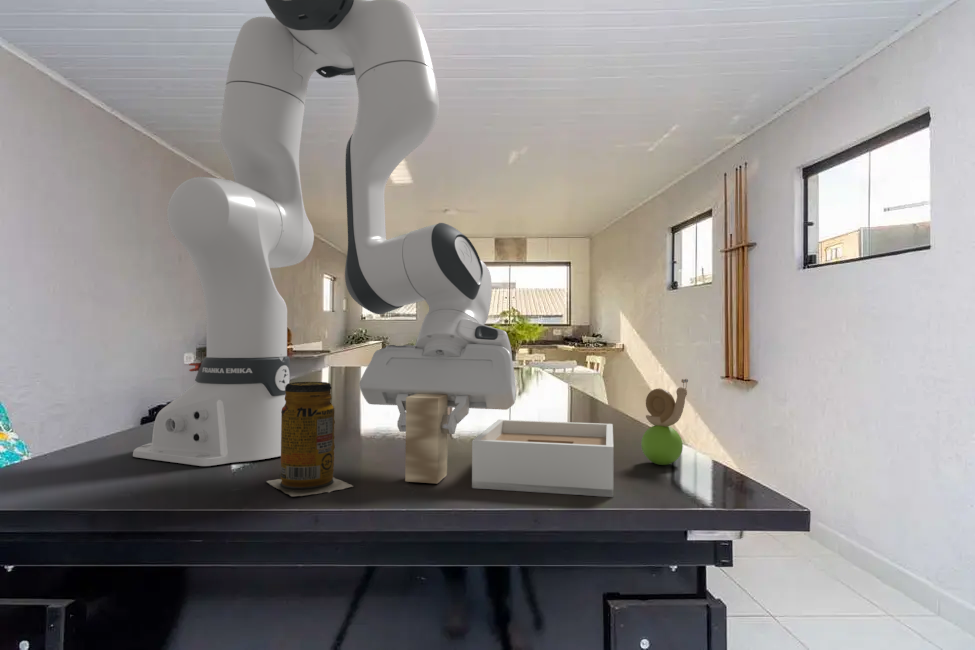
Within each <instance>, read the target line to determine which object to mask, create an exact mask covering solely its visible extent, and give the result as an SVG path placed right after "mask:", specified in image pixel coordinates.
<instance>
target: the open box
mask: <svg viewBox="0 0 975 650" xmlns="http://www.w3.org/2000/svg"><path fill="white" fill-rule="evenodd" d="M613 426H614V424H613V423H602V422H599V423H597V422H576V421H575V422H572V421H571V422H570V421H543V420H541V421H540V420H521V419H519V420H517V419H516V420H515V419H497V420H495V422H493V423H492V424H491V425H490V426H489V427H488V428H486V429H485V430H483V431H482V432H481V433H480V434H478V435H477V436H475V438H473V439H472V441H471V442H472V443H471V445H472V446H471V450H472V451H471V488H472V489H481V490H482V489H483V490H498V491H513V492H515V491H516V492H528V493H530V492H531V493H542V494H543V493H544V494H559V495H575V496H577V495H578V496H591V497H593V496H594V497H606V498H608V497H609V498H614V427H613Z"/></svg>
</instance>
